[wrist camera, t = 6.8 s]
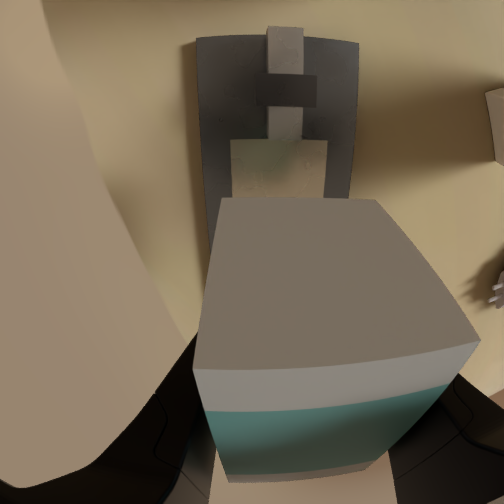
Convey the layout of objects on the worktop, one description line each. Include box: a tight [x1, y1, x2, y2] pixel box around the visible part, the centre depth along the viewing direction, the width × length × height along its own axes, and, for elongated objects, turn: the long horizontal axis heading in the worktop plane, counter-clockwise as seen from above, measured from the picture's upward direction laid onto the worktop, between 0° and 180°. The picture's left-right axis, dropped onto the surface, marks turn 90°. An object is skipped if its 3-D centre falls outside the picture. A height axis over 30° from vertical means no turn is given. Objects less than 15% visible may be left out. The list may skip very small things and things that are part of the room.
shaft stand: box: [196, 26, 359, 254], centre depth 17 cm, size 9×20×4 cm, turn 1°
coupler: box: [193, 197, 481, 483], centre depth 8 cm, size 7×4×5 cm, turn 0°
